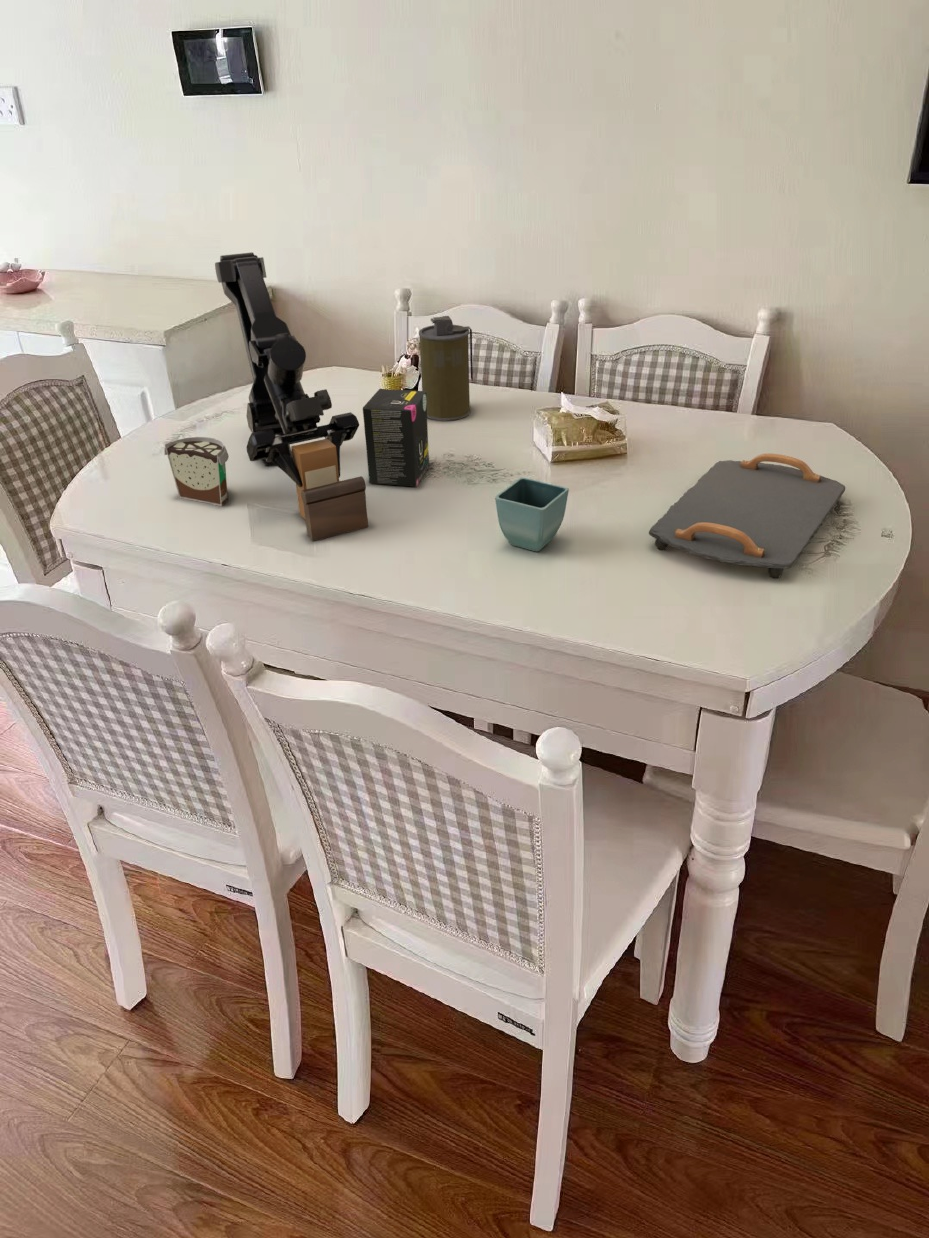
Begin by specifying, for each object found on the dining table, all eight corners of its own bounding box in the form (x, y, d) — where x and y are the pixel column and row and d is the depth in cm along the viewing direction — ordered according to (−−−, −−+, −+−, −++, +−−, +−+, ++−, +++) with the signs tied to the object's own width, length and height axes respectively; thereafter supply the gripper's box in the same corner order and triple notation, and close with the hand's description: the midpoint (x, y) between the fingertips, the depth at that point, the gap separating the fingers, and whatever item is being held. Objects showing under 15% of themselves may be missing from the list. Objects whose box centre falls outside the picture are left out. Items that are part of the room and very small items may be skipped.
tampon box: (417, 488, 174) (412, 410, 166) (367, 484, 176) (361, 407, 168) (431, 464, 183) (427, 389, 176) (384, 461, 185) (378, 387, 177)
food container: (249, 493, 174) (241, 441, 169) (228, 507, 169) (219, 454, 164) (194, 483, 178) (184, 432, 173) (172, 496, 174) (162, 444, 168)
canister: (426, 423, 202) (422, 327, 191) (418, 406, 210) (414, 313, 200) (477, 418, 203) (476, 322, 193) (467, 402, 212) (465, 309, 201)
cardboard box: (299, 514, 166) (290, 446, 160) (333, 505, 169) (326, 438, 162) (308, 523, 163) (299, 454, 157) (343, 514, 166) (336, 446, 159)
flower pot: (542, 561, 150) (543, 509, 145) (493, 548, 154) (493, 496, 149) (568, 538, 156) (570, 487, 152) (520, 526, 160) (521, 476, 156)
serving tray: (783, 592, 140) (789, 554, 137) (635, 554, 151) (638, 519, 148) (849, 493, 168) (856, 460, 165) (721, 468, 179) (725, 436, 175)
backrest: (306, 536, 159) (300, 488, 155) (363, 521, 163) (359, 474, 159) (311, 541, 158) (305, 493, 153) (369, 526, 162) (365, 479, 157)
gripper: (241, 385, 153) (274, 474, 150) (350, 365, 160) (382, 449, 158) (233, 418, 163) (264, 501, 161) (336, 398, 170) (366, 477, 168)
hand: (320, 481), depth 161 cm, fingers closed on cardboard box, 6 cm apart
